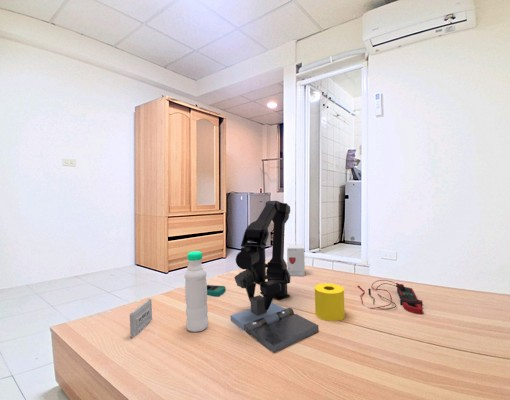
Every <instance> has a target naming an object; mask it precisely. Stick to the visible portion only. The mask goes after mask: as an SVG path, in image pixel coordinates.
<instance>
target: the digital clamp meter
mask: <svg viewBox="0 0 510 400" xmlns="http://www.w3.org/2000/svg"><path fill="white" fill-rule="evenodd" d="M383 281H385V282H387V283H385V282H384V283H381V284H380V285H378V286H377V287H376V288H374V287H373V285H374V284H375V283H377V282H383ZM388 282H390V283H388ZM392 283H393V284H392ZM382 285H390V286H393V287H396V293H397V295H398V297H399V299H400V300H399V302H400V306H402V308H403V309H404V310H405V311H407V312H409V313H410V314H415V315H423V300H421V299H418V297H417V295H416V293H415V291H414V289H413V288H412V287H407V286H405V285H404V284H403V283H398V282H394V281H391V280H387V279H379V280H376V281H374V282H373V283H372V284H371V288H370V287H369V288H368V289H367V290H368V295H369V296H370V297H371V298H373V299H375V297H374V296H372V294H371V291H372V289H373V290H375V291H378V290H379V291H385V292H387V293H388V294H389V297H390V299H388V298H386V297H384V296H382V295H380V294H379V293H377V295H378V296H380V297H381V298H382V299H385V300H387V301H389V302H390V303H389V304H386V305H383V306H382V305H381V306H377V307H369V306H368V307H367V306H366V308H367V309H370V310H372V309H374V310H375V309H379V310H384V307H386V308H385V310H391V309H395V308H396V307H397V304H396V302H394V301H393V300H392V295H391V293H390V292H389V291H388V290H387V289H382V288H381V289H380V288H379V287H381V286H382ZM356 287H357V288H358V289H359V290H361V291H362V292H363V293H361V294H360V295H359V297H360V300H361V304H362V305H364V301H363V298H362V295H364V294H365V290H364V289H363V288H362V287H361V285H357V284H356ZM372 303H373V304H375V300H373V302H372ZM392 303H393V305H395V306H394V307H393V306H392V307H388V306H390V305H391V304H392ZM387 307H388V308H387Z"/></svg>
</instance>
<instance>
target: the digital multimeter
mask: <svg viewBox="0 0 510 400" xmlns="http://www.w3.org/2000/svg"><path fill="white" fill-rule="evenodd" d="M226 289H227V288H226V286H224V285H213V284H212V285H210V284H207V295H211V296H210V297H217V296H219V297H220V295H221V296H222V295H224V293H225V292H226V291H227V290H226Z"/></svg>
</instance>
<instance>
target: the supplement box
mask: <svg viewBox="0 0 510 400" xmlns="http://www.w3.org/2000/svg"><path fill="white" fill-rule="evenodd" d="M286 249H287V251H286V252H287V253H286V254H287V257H286V260H287V263H286V264H287V270H288V272H289V274H290V277H305V276H306V275H305V273H306V272H305V264H306V263H305V245H304V244H287V248H286Z"/></svg>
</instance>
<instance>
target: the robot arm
mask: <svg viewBox="0 0 510 400" xmlns="http://www.w3.org/2000/svg"><path fill="white" fill-rule="evenodd" d="M290 214H291V206H290V205H289V204H288V202H287V203H284V202H280V201H278V200H268V201H267V200H266V202H265V205H264V207H263V209H262V211H261V212H260V214H259V216H258V217H257V219H256V220H254V221H251V222H250V224H249V225H248V226H247V227H246V229H245V231H244V234H243V237H242V241H241V244H240V247H241V248H240V251H239V252H238V253H237V254H236V256H235V263H236V266H237V267H238V268H239V269H242V270H243V271H240V272H239V273H238V274H236V275H235V276H234V277H233V279H234V281H235V283H236V286H237V287H239V288H241V289H245V291H246V294H247V297H248V300H249V302H250V303H251V301H250V298H252V297H255V291H256V288H257V287H256V286H257V285H258V286H259V290H260V292H259V294H260V295H261V296H262V297H263V298H264V307H265V310H268V309H269V307H270V305H271V302H272V303H273V301H274V300H273V299H275V300H277V301H278V300H279V301H280V300H283V299H285V298H289V297H290V296H291V294H289V293H288V284H291V276H290V274H289V272H288V266H287V263H286V260H285V259H284V254H285V253H284V252H285V251H284V250H285V249H284V248H285V229H286V226H285V225H286V223H287V222H288V220H289V218H290ZM271 223H273V229H272V230H273V231H272V232H273V234H272V252H271V253H272V255H271V258H270V260H269V261H268V262H267V263H266V247H267V241H268V239H269V235H270V233H269V230H268V229H269V227H270V224H271ZM266 280H267V281H266Z"/></svg>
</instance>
